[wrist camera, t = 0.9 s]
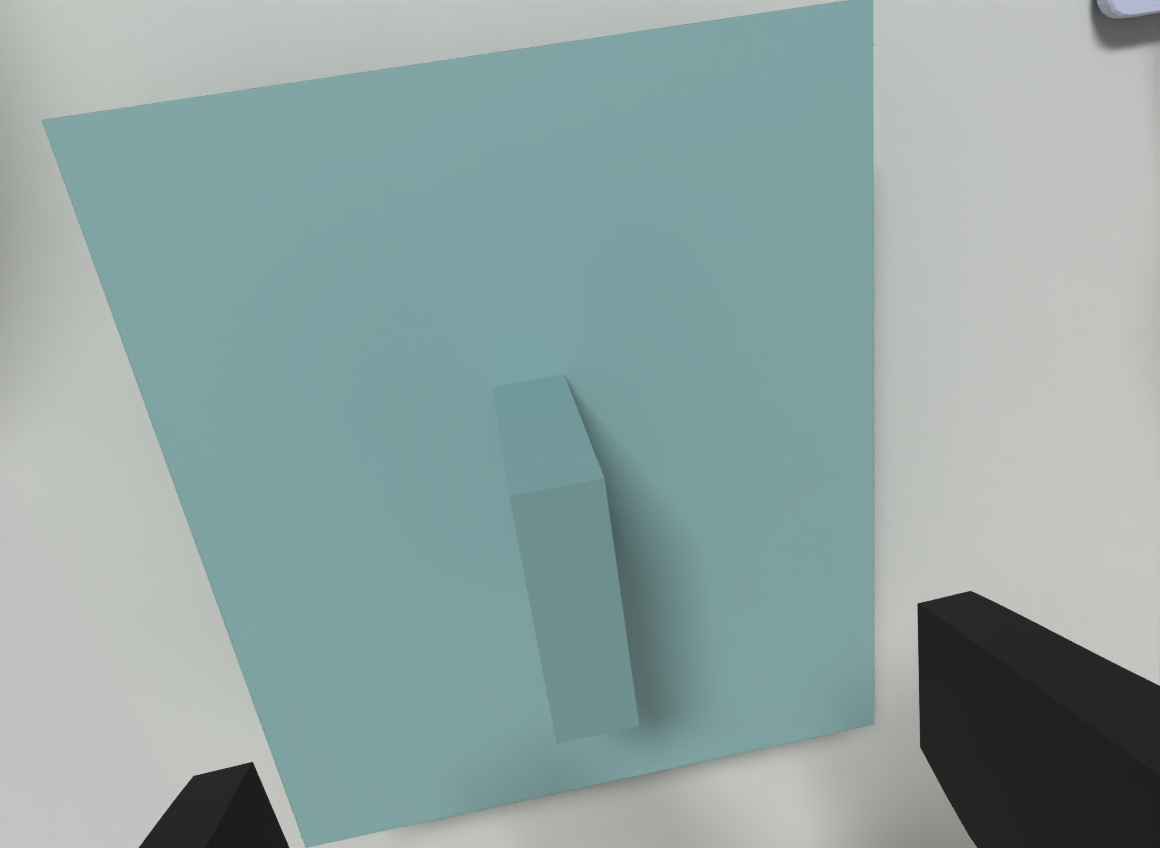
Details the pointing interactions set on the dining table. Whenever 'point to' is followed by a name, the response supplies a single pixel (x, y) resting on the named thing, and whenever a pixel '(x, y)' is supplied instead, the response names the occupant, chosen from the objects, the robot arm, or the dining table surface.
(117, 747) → the dining table surface
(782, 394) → the lid
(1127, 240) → the dining table surface
